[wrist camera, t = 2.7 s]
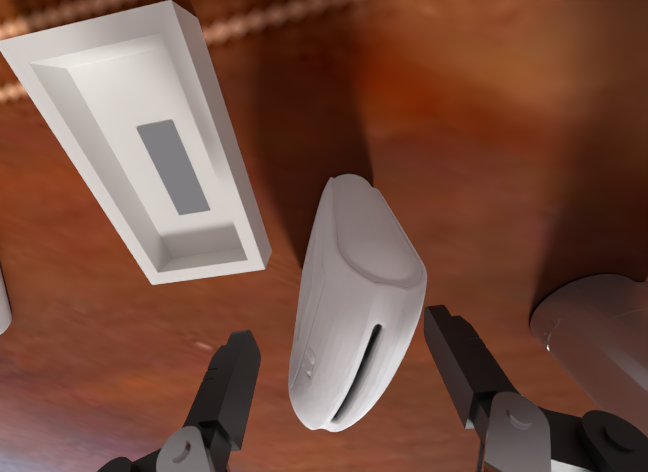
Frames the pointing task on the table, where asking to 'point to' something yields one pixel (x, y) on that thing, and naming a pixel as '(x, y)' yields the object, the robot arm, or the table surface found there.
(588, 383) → the robot arm
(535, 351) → the table surface
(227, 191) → the dock
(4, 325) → the radio
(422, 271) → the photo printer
